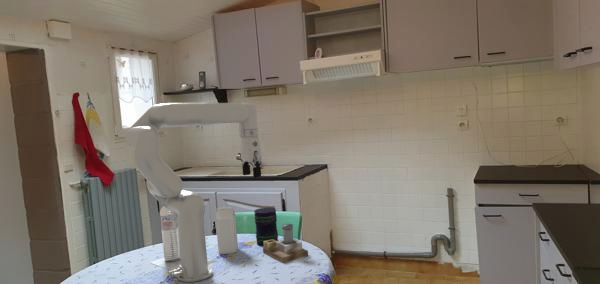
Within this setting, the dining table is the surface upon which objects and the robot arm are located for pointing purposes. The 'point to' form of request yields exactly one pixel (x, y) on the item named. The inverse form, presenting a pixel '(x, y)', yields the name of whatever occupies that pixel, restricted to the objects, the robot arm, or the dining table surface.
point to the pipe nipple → (288, 233)
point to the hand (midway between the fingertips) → (251, 175)
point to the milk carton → (226, 230)
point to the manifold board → (284, 250)
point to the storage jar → (265, 225)
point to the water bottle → (170, 235)
